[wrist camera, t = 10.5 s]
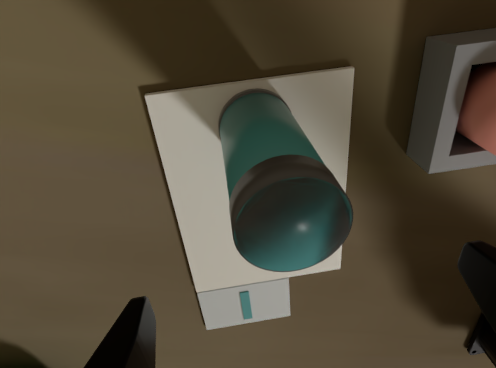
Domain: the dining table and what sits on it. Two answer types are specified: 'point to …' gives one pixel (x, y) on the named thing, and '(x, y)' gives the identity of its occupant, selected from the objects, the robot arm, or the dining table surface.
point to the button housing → (448, 101)
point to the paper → (213, 170)
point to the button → (480, 108)
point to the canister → (278, 186)
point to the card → (245, 303)
